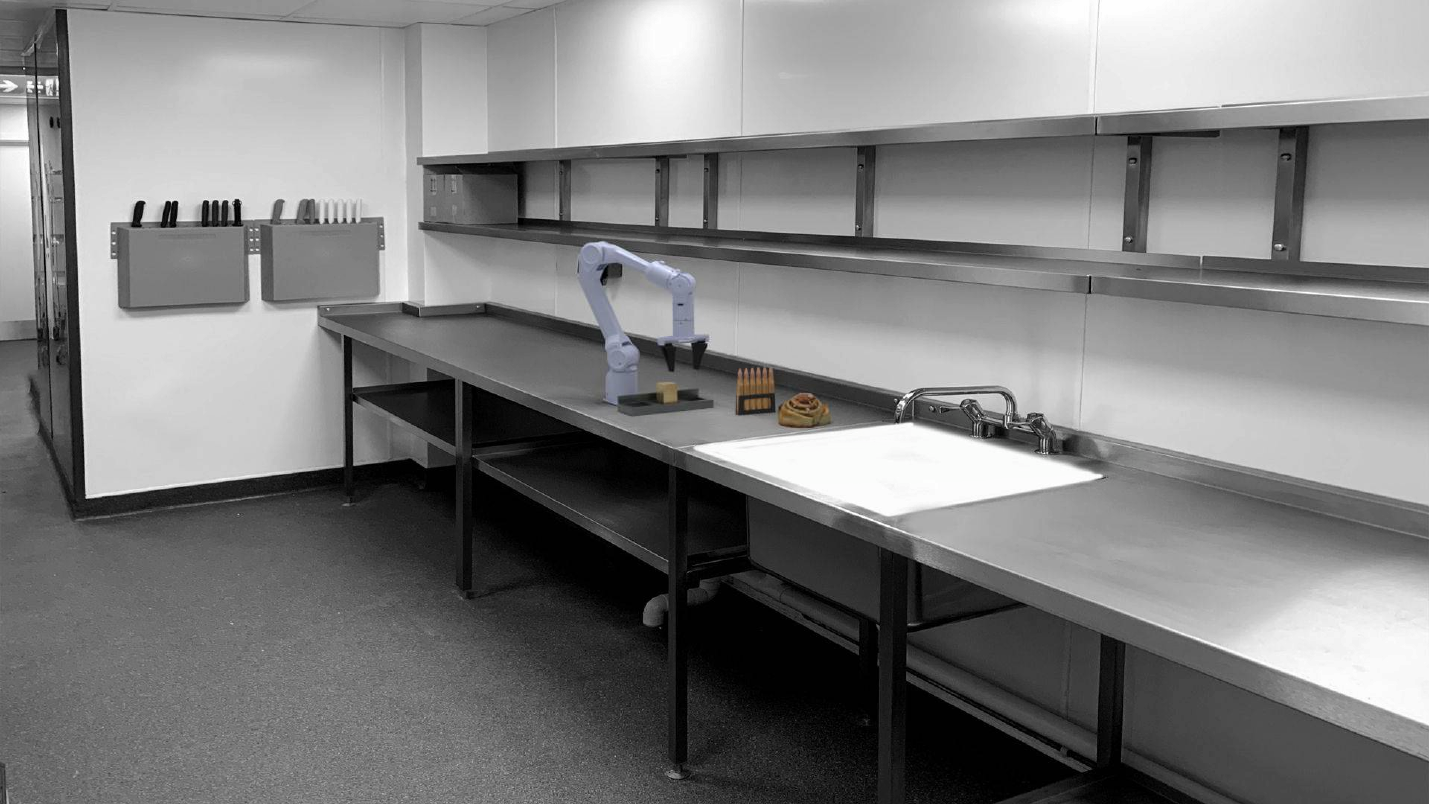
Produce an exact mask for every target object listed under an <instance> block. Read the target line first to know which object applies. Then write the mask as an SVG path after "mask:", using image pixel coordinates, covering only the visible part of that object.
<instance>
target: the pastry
mask: <svg viewBox="0 0 1429 804" xmlns="http://www.w3.org/2000/svg"><path fill="white" fill-rule="evenodd" d="M777 410H778V412H777V413H778V414H777V423H778V425H779V426H782V427H785V428H786V427H787V428H793V429H794V428H795V429H799V428H800V429H810V428H812V427H820V426H825V425H828V424H829V423H830V422H831V414H830V411H829V404H827V403H824V404H823V403H822V402H821V401H820V399H818V397H816V396H815V395H814V394H812V393H809V392H806V393H805V392H800V393H798V394H796V395H795V396H793V397H791V398H790V399H788V400H786V402H784V403H781V404H779V405H778V409H777Z"/></svg>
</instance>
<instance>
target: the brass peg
mask: <svg viewBox="0 0 1429 804" xmlns="http://www.w3.org/2000/svg"><path fill="white" fill-rule="evenodd" d="M655 387H656V388H655V390H656V391H655V392H656V394H657V403H660V404H670V403H677V390H678V383H676V382H673V381H663V382H656V386H655Z"/></svg>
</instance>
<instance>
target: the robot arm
mask: <svg viewBox="0 0 1429 804" xmlns="http://www.w3.org/2000/svg"><path fill="white" fill-rule="evenodd" d="M577 259H578V278H577V279H578V283H579V285H580V287H581V289H582V291H583V293H584V296H585V298H586V300H587V302H588V305H589V306H590V307H589V308H591V311H592V314H593V316H594V318H595V320H596V322H597V324H598V327H599V329H600V331H601V333H602V336H603V338H604V340H605V343H604V350H605V351H606V357H607V358H606V360H607V361H606V362H607V365H608V366H609V367H610V368H609V371H607V373H606V375H605V398H603V399H602V401H603V402H606V403H609V404H612V405H615V406H618V398H617V396H622V395H632V394H638V367H637V363H638V362H639V361H640V360H639V359H640V357H641V356H640V355H641V354H640V351H639V349H638V348H637V347H636V345H634V344H633V343H632V341H631V339H630V337H629V336H628V335H627V334H626V333H624V331H623V329H622V326H621V325H620V322H619V319H618V318H617V315H616V313H615V311H614V309H613V306H612V305H611V302H610V300H609V297H608V296H607V293H606V291H605V289H604V287H603V285H602V282H601V278H602V274H603V272H604V270H605V268H606V267H607V266H608V265H610V264H614V263H616V264H620V265H622V266H625V267H627V268H630V269H632V270H635V271H637V272H640V273H641V274H644V275H645V278H646V280H647V281H648V282H650V283H651V284H654V285H656V286H658V287H661V288H663V289H665V290H667V291H669V292H670V293H671V294H672V335H669V336H662V337H661V336H660V337H657V345H658V346H659V349H660V351H661V353H662V354H663V357H664V359H665V362H666V366H667V371H668V372H671V373H675V368H676V367H675V366H676V365H675V364H676V363H675V359H676V351H677V347H676V346H674V345H681V344H690V346H691V351H692V368H693V370H697V371H698V370H700V368H701V363H702V359H703V356H704V355H705V352H706V350H707V348H708V346H709V345H708V343H709V342H710V334H705V333H704V334H703V333H702V334H699V333H698V334H695V302H694V300H695V299H694V298H695V296H694V295H695V294H694V292H695V291H696V288H697V282H696V281H697V280H696V279H695V277H693V275H691V274H690V273H688V272H683V273H682V272H681V271H682V270H680V269H679V268H676V269H674V268H673V267H670V266H668V265H666V262H665V261H663V260H659V261H657V260H655V261H653V262H649V261H647V260H645V259H643V258H641V257H640V256H638V255H635V254H633V253H631V252H629V251H628V250H626V249H625V248H622V247H620V246H618V245H616V244H612V243H609V242H607V241H603V240H602V241H598V242H588V243H585V244H584V245H583V246H582V248H580V252H579V253H578V255H577Z"/></svg>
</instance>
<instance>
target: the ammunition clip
mask: <svg viewBox="0 0 1429 804" xmlns="http://www.w3.org/2000/svg"><path fill="white" fill-rule="evenodd" d="M749 375H750V376H749ZM776 412H777V410H776V392H775V380H774V370H773V366H770V367H769V370H768V371H767V368H766V366H764V367H763V370H762V375H761V368H760V367H759V366H758V367H757V368H756V373H755V369H754V367H751V369H750V374H749V371H748V368H747V367H745V369H744V373H743V372H742V369H741V368H739V369H738V372H737V383H736V395H735V415H737V416H746V415H748V416H749V415H759V414H768V413H769V414H770V413H771V414H772V413H776Z"/></svg>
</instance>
